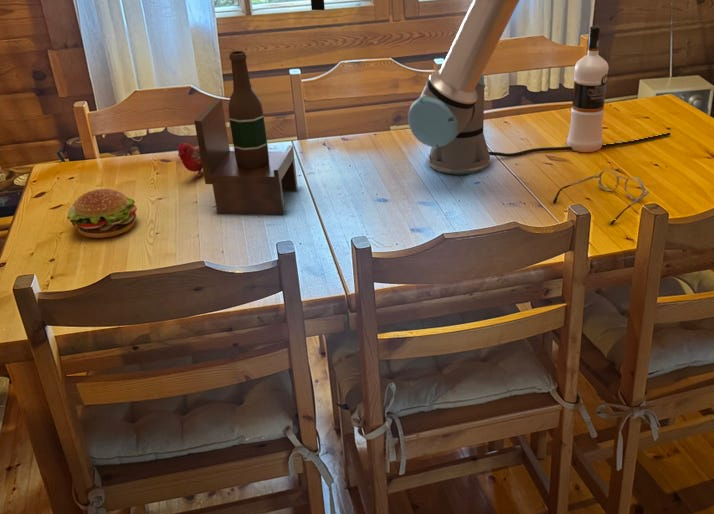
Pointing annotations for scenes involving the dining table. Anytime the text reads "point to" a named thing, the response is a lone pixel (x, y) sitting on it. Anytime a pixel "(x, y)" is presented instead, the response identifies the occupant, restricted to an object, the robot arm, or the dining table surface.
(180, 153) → the decorative bird figurine
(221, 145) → the shelf stand
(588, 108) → the vodka
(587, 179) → the eyeglasses
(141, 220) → the dining table surface
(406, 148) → the dining table surface
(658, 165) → the dining table surface
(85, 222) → the food
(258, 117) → the beer bottle
